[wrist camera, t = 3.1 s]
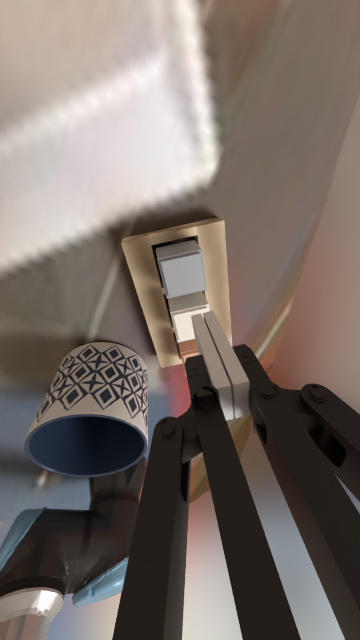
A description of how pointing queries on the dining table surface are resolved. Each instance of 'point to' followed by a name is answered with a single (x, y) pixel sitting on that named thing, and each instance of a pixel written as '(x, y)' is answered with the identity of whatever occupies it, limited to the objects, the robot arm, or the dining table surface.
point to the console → (152, 288)
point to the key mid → (186, 313)
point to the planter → (92, 413)
